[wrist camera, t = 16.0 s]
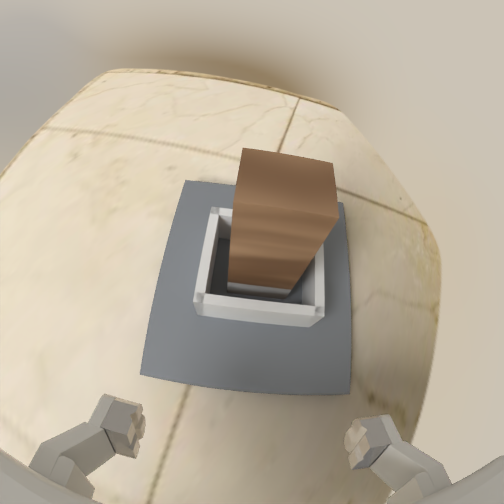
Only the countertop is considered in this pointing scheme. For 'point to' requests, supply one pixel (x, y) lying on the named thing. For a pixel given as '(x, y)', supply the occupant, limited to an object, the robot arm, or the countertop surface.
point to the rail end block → (278, 221)
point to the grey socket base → (246, 311)
